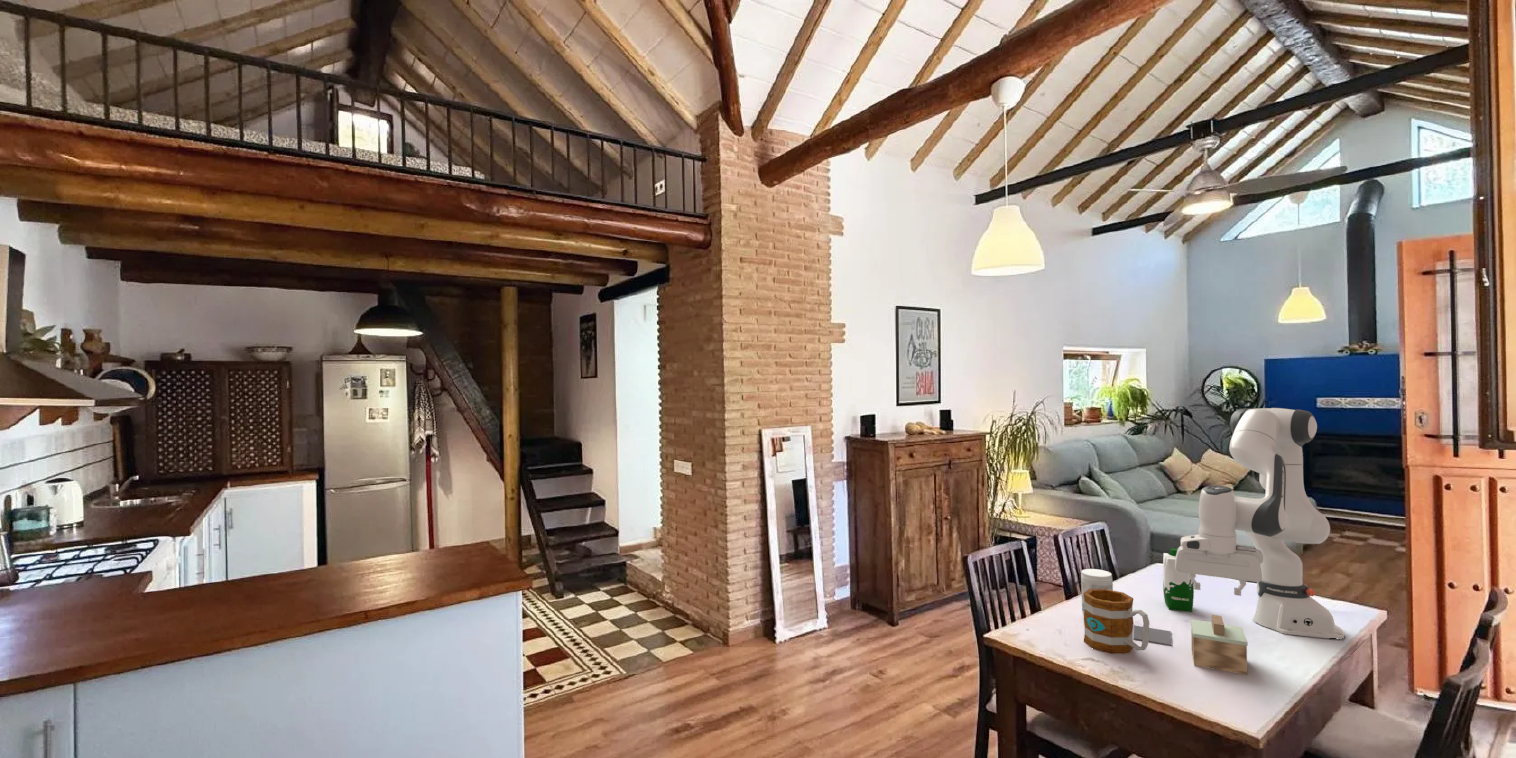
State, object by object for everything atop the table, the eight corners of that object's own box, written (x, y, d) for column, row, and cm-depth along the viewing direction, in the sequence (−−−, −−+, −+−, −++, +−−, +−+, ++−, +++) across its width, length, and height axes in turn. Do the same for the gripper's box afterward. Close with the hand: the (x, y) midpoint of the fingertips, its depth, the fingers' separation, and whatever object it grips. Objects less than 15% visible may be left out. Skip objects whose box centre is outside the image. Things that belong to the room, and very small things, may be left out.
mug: (1073, 640, 201) (1073, 592, 201) (1104, 633, 207) (1104, 586, 206) (1132, 666, 183) (1131, 613, 183) (1164, 657, 188) (1163, 606, 188)
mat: (1170, 632, 206) (1170, 631, 206) (1171, 646, 196) (1171, 644, 196) (1134, 626, 212) (1134, 625, 212) (1133, 639, 201) (1133, 638, 201)
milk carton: (1190, 605, 231) (1189, 548, 230) (1196, 613, 222) (1195, 555, 222) (1161, 602, 234) (1161, 546, 234) (1166, 610, 226) (1165, 552, 225)
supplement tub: (1119, 616, 220) (1118, 573, 220) (1103, 623, 215) (1103, 578, 215) (1091, 608, 228) (1090, 566, 228) (1075, 614, 223) (1075, 571, 223)
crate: (1241, 658, 187) (1241, 630, 187) (1246, 674, 177) (1246, 645, 177) (1191, 649, 194) (1191, 622, 194) (1194, 665, 183) (1193, 636, 183)
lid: (1242, 637, 187) (1242, 616, 187) (1247, 653, 177) (1247, 631, 177) (1190, 629, 194) (1190, 609, 194) (1193, 644, 183) (1192, 622, 183)
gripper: (1261, 546, 183) (1261, 595, 183) (1174, 536, 193) (1174, 583, 193) (1264, 551, 177) (1264, 601, 177) (1175, 541, 188) (1175, 589, 188)
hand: (1217, 592), depth 185 cm, fingers open, 8 cm apart
